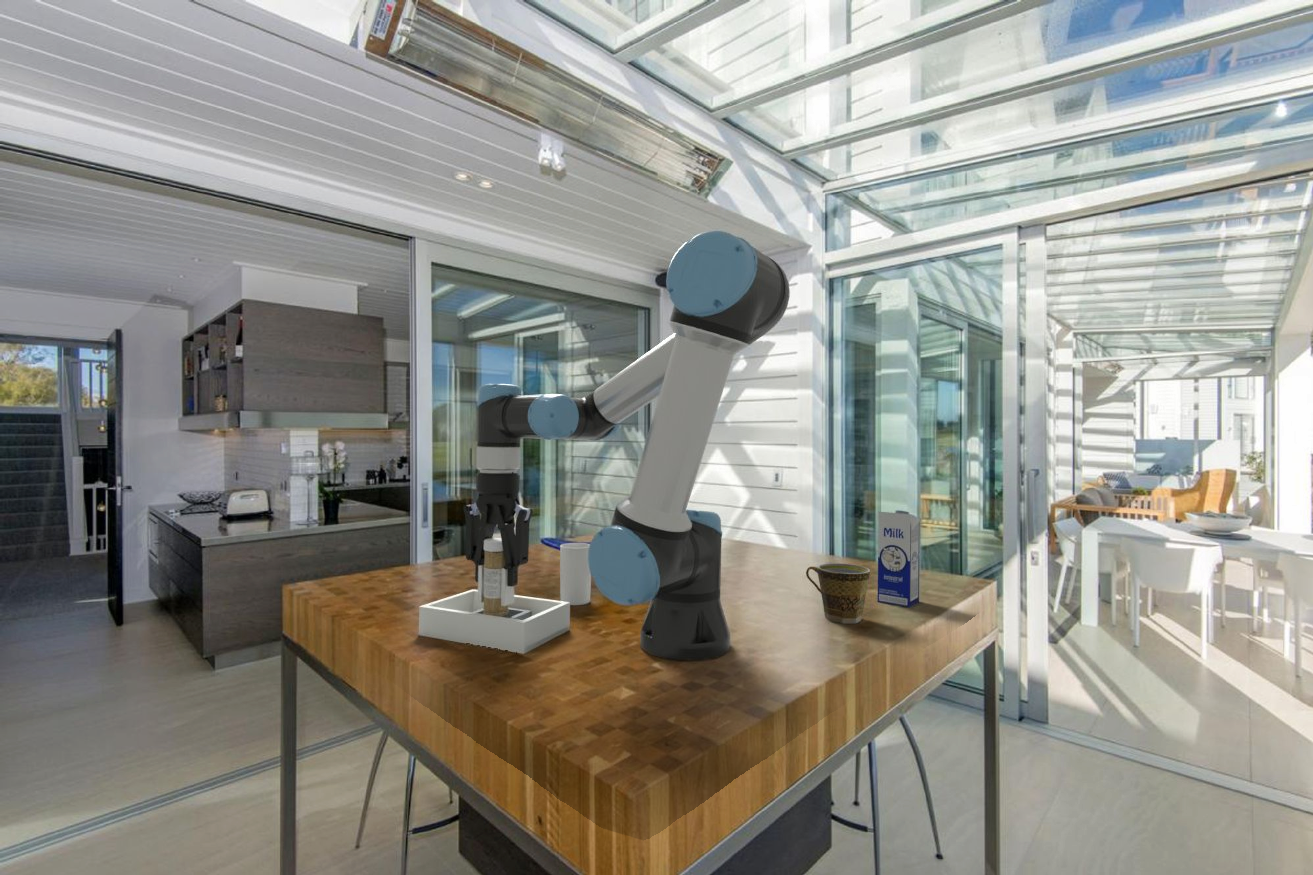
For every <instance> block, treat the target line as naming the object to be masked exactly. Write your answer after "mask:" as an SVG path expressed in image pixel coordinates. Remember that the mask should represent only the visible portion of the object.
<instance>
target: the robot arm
mask: <svg viewBox="0 0 1313 875" xmlns="http://www.w3.org/2000/svg"><path fill="white" fill-rule="evenodd" d="M665 281H666V284H665V285H666V291H667V292H668V294H669V299H670V301H671V302H672V304H673V308H672V312H671V315H670V318H669V323H668V324H669V325H670V327H671V329H672V332H673V333H672V334H670V336H668V337H667V338H666V339H664V340H663V341H662V342H660V343H659V344H657V345H656V346H654V347H653V348H652V349H651V350H649V351H648V352H646V353H645V354H643V355H641V357H639V358H638V359H636V360H635V361H633V362H632V363H631V364H629V365H628V366H627V367H625V368H624V369H623V370H621V371H619V372H618V373H617V374H615V375H614V376H613V377H610V379H609V380H607V381H606V382H604V383H603V384H602V385H600V386H599V387H597V388H596V389H595V390H594V391H592V392H590V393H588V394H587V395H586V396H584V397H582V398H578V397H569V396H568V395H566V394H559V393H549V392H548V393H544V394H529V395H527V394H525V395H522V388H521V386H518V385H517V384H515V385H514V384H508V383H507V384H506V383H486V384H482V385H481V386H480V387H479V389H478V397H477V405H476V412H477V422H476V424H477V429H476V432H477V433H476V437H477V438H476V440H477V441H476V443H477V444H476V446H477V447H476V463H475V464H476V469H477V470H479V472H477V473H476V479H475V481H476V482H475V483H476V484H475V486H476V487H475V492H476V493H477V494H478V497H477V499H476V502H474V503H472V504H467V505H466V504H465V505H464V506H463V512H464V515H465V558H466V560H467V561H471V562H473V564H474V565H475V571H474V572H475V573H474V574H475V576H474V579H475V582H476V583H477V590H478V602H479V603H482V602H484V595H483V594H484V562H485V561H484V560H485V553H484V552H485V550H484V540H485V539H488V538H494V533H495V528H496V527H497V529H498V530H499V532H500V538H501V539H502V546H503V552H504V558H505V564H506V566H503V568H502V582H501V606H507V605H509V604H512V603H514V595H515V586H517V585H518V581H519V580H518V579H519V578H518V576H519V575H518V574H519V567H520V566H522V565H525V564H528V563H529V549H530V548H529V547H530V546H529V544H530V520H531V519H532V516H533V512H534V510H533V509H532V507H531V508H530V507H529V508H526V507H524V506H523V505H520V500H519V497H518V494H519V493H520V490H521V488H520V484H521V481H520V480H521V478H520V476H521V475H520V474H519V472H517V471H518V470H519V469H520V468H521V439H535V440H539V439H541V440H547V441H549V440H582V441H583V440H584V441H585V440H588V441H600V440H607V439H610V438H611V437H613V436H615V434H616V432H617V430H618V429H619V427H620V423H622V422H623V421H625V420H626V419H627V418H629V417H630V416H632V415H634V414H635V413H637V412H638V411H639V410H642V408H644V407H646V406H647V405H649V404H650V403H652V402H654V400H656V399H657V402H656V405H655V409H654V412H653V416H652V418H651V423H650V426H649V428H648V432H647V437H646V440H645V444H644V446H643V450H642V454H641V456H640V460H639V464H638V467H637V470H636V473H635V478H634V481H633V484H632V488H631V492H630V493H629V495H627V496H626V497H623V498H621V499H619V500H618V501H617V503H616V506H615V509H614V513H613V516H612V520H611V522H610V525H607V526H604V527H603V528H602V529H600V531H597V533H596V534H595V535H594V536H593V538H592V539H591V540H590V543H589V544H590V546H589V550H588V565H589V570H590V574H591V577H592V579H594V584H595V586H596V588H597V589H598V590H599V591H600V593H601V594H602V596H604V597H605V598H607V599H608V600H610V601H611V602H613V603H615V604H617V605H621V606H634V605H640V604H646V603H648V602H649V605H648V609H647V612H646V614H645V617H644V620H643V624H642V626H641V630H640V642H639V643H640V647H641V649H642V650H643V651H644V652H646V653H648V654H650V655H653V656H656V657H660V658H663V659H669V660H676V661H701V660H702V661H703V660H709V659H715V658H719V657H721V656H724V655H725V654H727V653H728V652H729V651H730V649H731V632H730V629H729V628H730V627H729V626H728V622H727V618H726V615H725V611H724V608H723V605H722V602H721V601H722V600H721V585H722V584H721V583H722V582H721V581H722V578H721V577H722V576H721V575H722V571H721V570H722V537H723V531H722V520H721V519H722V518H721V517H720V515H719V514H718V513H716V512H714V511H705V510H695V509H687V508H688V505H689V502H690V499H691V495H692V492H693V489H694V485H695V482H696V480H697V475H698V473H699V470H700V469H699V468H700V466H701V464H702V459H703V457H704V453H705V450H706V446H707V443H708V441H709V437H710V434H711V430H712V428H713V424H714V421H715V418H716V414H717V411H718V408H719V405H720V401H721V398H722V396H723V392H724V389H725V385H726V382H727V378H728V376H729V372H730V369H731V366H732V362H733V359H734V357H735V355H736V354H737V353H739V352H741V351H743V350H744V349H746V348H748V347H749V346H751V345H752V344H753V343H755V342H756V341H757V340H759V339H760V338H761V337H763V336H764V335H766V334H767V333H768V332H770V331H771V330H772V329H773V328H775V326H776V325H777V324H778V323H779V322H780V321H781V320H782V318H783V316H784V314H785V313H786V311H787V308H788V305H789V302H790V292H791V291H790V283H789V280H788V278H787V274H786V273H785V270H783V268H782V267H781V265H780V264H779V263H777V262H776V261H775V260H774V259H772V258H771V257H770V256H767V255H765V254H763V252H761V251H760V250H758V249H757V248H755V247H754V246H753V245H752V244H751V243H750V242H749V241H747V240H746V239H744V238H742V237H739V236H736V235H734V234H732V233H730V232H727V231H723V230H709V231H708V230H707V231H703V232H701V233H699V234H696V235H695V236H694V237H692V238H691V239H690V240H687V241H686V242H685V243H683V244H682V245H681V246H680V247H679V248H678V249H677V251H676V252H675V254H674V255H673V256H672V259H671V261H670V263H669V265H668V268H667V272H666V280H665ZM480 515H481V516H480ZM515 518H516V520H515Z"/></svg>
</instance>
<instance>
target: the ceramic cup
mask: <svg viewBox="0 0 1313 875" xmlns="http://www.w3.org/2000/svg"><path fill="white" fill-rule="evenodd" d="M810 570H812V571H814V572H815V573H817V576H818V582H819V585H818V584H817V583H816V582H815V581H814V580H813V579H812V578H811V576H810V575H809V572H810ZM805 574H806V578H807V580H809V581H810V582H811V583H812V584H813V585H814V587H815V588H816V590H817V591H818V592H819V593H820V594H821V598H822V599H821V600H822V605H823V612H824V617H825V618H826V619H827V620H828V621H829V622H832V623H839V624H846V625H848V624H854V625H855V624H858V623H859V622H861V620H862V617H863V611H864V607H865V601H866V596H867V591H868V588H869V582H870V575H871V570H870V569H869V568H867V567H865V566H862V565H858V564H852V563H850V564H849V563H837V562H835V563H822V564H819V565H817V567H816V566H809V567H808V568H806V571H805Z"/></svg>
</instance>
